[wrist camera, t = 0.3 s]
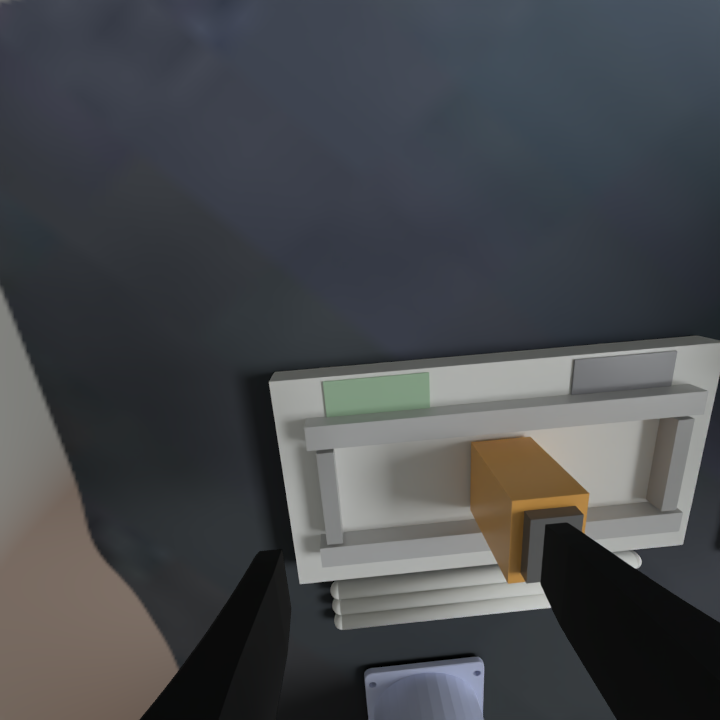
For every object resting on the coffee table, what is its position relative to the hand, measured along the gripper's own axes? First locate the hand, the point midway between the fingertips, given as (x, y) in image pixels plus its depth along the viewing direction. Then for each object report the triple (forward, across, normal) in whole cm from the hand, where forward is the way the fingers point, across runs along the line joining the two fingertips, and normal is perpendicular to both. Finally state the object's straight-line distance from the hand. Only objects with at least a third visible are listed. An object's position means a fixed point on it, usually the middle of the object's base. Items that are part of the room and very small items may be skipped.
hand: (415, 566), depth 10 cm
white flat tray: (+10, -6, +3) cm, 12 cm away
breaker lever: (+8, -6, +3) cm, 11 cm away
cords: (+10, -6, +12) cm, 17 cm away
